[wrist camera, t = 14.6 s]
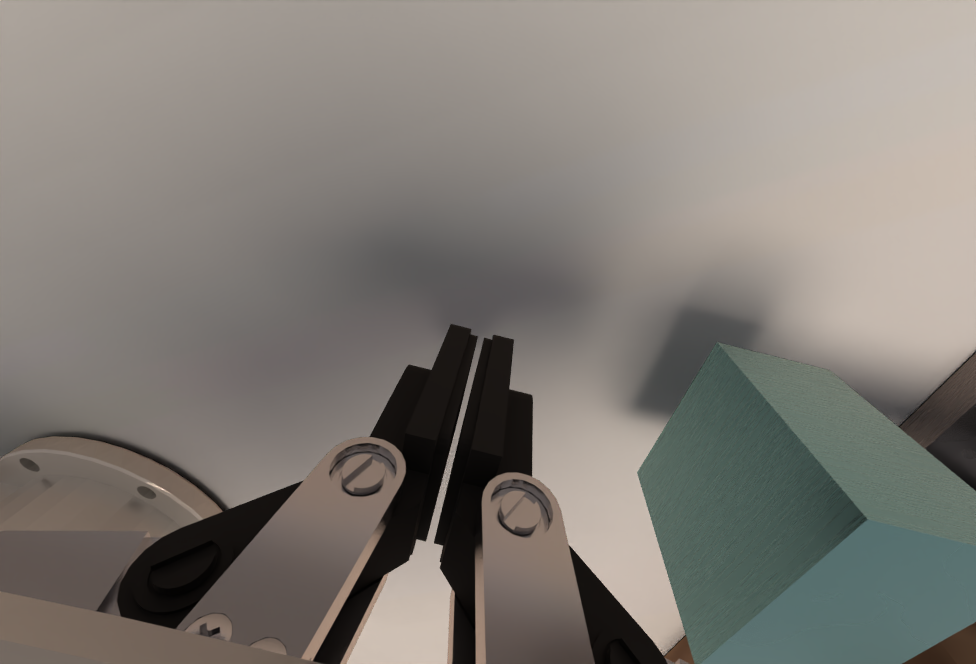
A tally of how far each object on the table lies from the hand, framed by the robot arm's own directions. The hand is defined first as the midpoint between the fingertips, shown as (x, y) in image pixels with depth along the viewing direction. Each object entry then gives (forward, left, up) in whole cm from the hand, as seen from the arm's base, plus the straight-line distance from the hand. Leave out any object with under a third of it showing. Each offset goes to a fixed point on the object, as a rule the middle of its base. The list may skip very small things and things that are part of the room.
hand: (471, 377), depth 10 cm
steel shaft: (+14, 0, -1) cm, 14 cm away
